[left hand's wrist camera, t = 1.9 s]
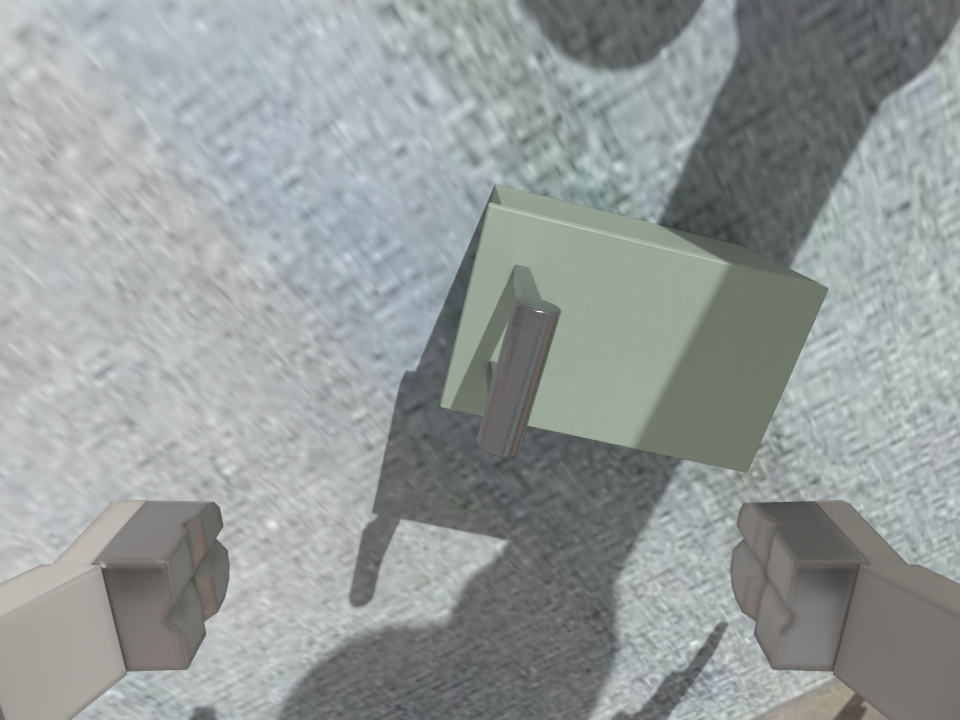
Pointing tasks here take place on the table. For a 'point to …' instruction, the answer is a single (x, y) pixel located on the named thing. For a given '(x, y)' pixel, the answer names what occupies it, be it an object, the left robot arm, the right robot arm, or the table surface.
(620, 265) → the lid
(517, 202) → the chest
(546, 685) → the table surface
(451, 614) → the table surface
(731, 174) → the table surface
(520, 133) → the table surface
